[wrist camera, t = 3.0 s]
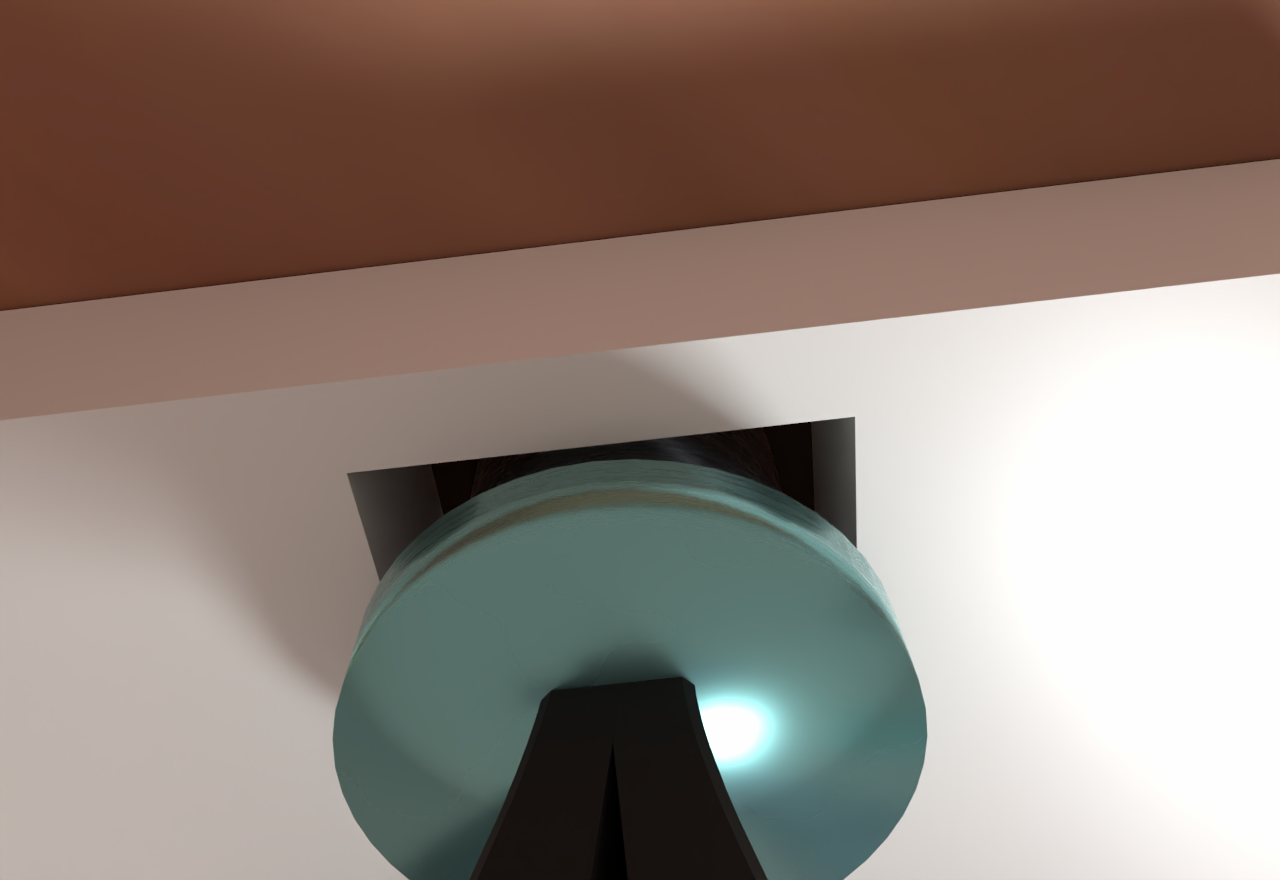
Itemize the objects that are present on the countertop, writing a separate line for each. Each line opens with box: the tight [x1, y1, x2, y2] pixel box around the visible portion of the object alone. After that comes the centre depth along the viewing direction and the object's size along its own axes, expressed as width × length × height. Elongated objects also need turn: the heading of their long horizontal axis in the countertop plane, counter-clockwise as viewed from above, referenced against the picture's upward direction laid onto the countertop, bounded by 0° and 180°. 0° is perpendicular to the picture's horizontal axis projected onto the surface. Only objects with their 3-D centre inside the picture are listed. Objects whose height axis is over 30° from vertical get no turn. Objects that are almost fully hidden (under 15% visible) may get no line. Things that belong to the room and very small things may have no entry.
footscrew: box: [332, 427, 927, 880], centre depth 12 cm, size 6×6×5 cm
